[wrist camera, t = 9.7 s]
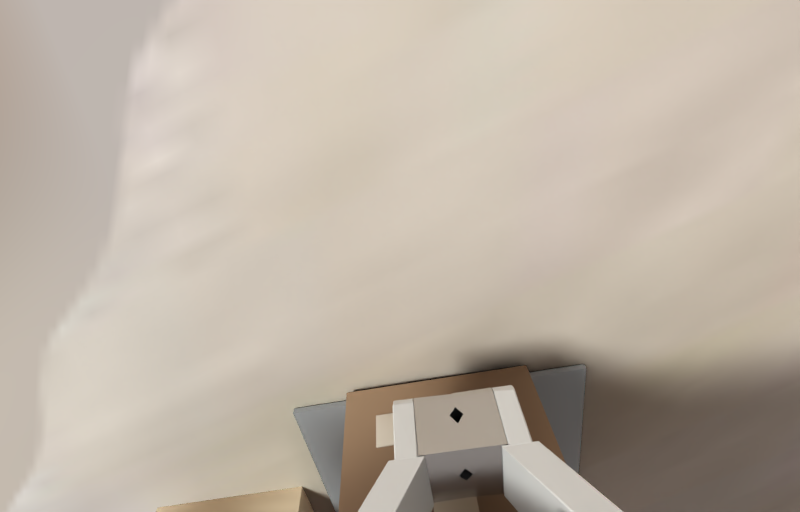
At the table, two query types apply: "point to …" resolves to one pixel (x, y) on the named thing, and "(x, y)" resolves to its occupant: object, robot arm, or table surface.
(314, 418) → the pad
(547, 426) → the walnut block
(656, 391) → the table surface
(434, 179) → the table surface
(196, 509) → the oak block
